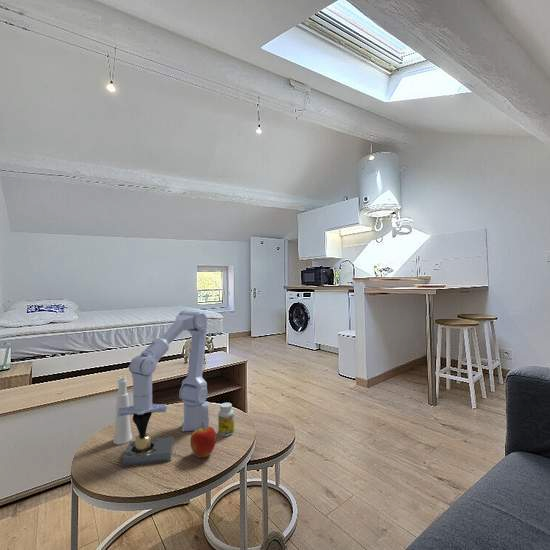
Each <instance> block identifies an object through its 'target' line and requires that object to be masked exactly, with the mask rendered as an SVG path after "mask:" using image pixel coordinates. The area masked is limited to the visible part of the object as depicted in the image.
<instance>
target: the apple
mask: <svg viewBox="0 0 550 550" xmlns="http://www.w3.org/2000/svg"><path fill="white" fill-rule="evenodd" d="M202 425H203V423H202ZM189 442H190V448H191V450H192V453H193V454H194V455H195V456H197V457H199V458H206V457H207V456H209V455H210V454H211V453H212V452H213V450H214V449H215V446H216V442H217V435H216V432H215V429H214V427H211V426H208V427H206V428H201V429H197V430H193V432H192V433H191V435H190V440H189Z"/></svg>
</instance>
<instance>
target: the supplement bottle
mask: <svg viewBox="0 0 550 550" xmlns="http://www.w3.org/2000/svg"><path fill="white" fill-rule="evenodd" d="M217 416H218V417H217V418H218V421H217V422H218V434H219V435H220V436H221V435H222V437H229V435H230V436H232V435H233V434H234V433H235V411H234V410H233V404H232V403H230V402H223V403H221V404H220V405H219V411H218V414H217Z"/></svg>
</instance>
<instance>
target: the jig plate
mask: <svg viewBox="0 0 550 550" xmlns="http://www.w3.org/2000/svg"><path fill="white" fill-rule="evenodd" d="M174 445H175V437H174V436H170V437H169V436H168V437H160V438H159V437H158V438H151V450H149V451H147V452H146V453H137V454H136V453H135V440H133V441H132V440H130V441H129V442H128V445H127V446H126V449H125V451H124V454H122V455H123V456H122V457H121V467H122V468H123V467H129V466H137V465H138V466H139V465H146V464H154V463H162V462H169V461H171V460H172V454H173V450H174Z"/></svg>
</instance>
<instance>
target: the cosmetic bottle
mask: <svg viewBox="0 0 550 550" xmlns="http://www.w3.org/2000/svg"><path fill="white" fill-rule="evenodd" d="M117 381H118V382H117V395H116V404H115V423H114V424H115V426H114V433H113V438H112V439H113V440H112V442H113V444H114V445H124V444H127V443H130V441H132V439H133V434H132V430H131V420H130V415H122V416H120V417H118V409H119V408H125V407H130V403H129V392H128V385H127V384H128V381H127V377H126V376H119V378H118V380H117Z"/></svg>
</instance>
